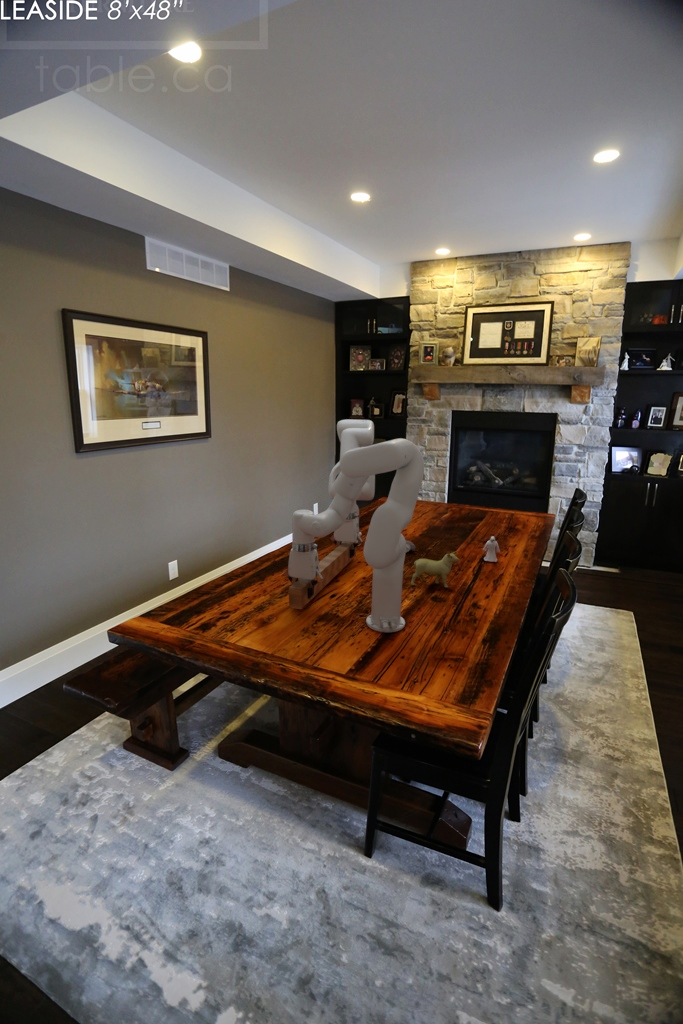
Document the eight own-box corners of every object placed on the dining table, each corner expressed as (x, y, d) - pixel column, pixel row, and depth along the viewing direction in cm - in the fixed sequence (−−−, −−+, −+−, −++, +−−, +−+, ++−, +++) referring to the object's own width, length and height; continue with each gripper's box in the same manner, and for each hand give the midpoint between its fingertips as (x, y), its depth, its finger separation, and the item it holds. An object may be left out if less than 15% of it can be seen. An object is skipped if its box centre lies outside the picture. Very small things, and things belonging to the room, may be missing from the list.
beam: (301, 609, 168) (301, 589, 166) (289, 607, 169) (288, 587, 168) (355, 556, 222) (356, 540, 220) (346, 554, 224) (346, 539, 222)
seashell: (403, 559, 235) (392, 546, 235) (408, 552, 239) (398, 539, 238) (414, 554, 229) (403, 541, 228) (419, 547, 233) (409, 534, 232)
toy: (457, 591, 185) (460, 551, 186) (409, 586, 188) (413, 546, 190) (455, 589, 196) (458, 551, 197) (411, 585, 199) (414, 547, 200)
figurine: (481, 562, 222) (483, 536, 219) (482, 556, 230) (484, 531, 227) (499, 564, 220) (501, 538, 217) (499, 558, 228) (501, 533, 225)
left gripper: (368, 515, 212) (367, 556, 217) (331, 511, 218) (330, 551, 222) (363, 519, 206) (362, 561, 210) (325, 515, 211) (324, 556, 215)
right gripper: (330, 546, 171) (329, 595, 175) (285, 540, 176) (286, 588, 181) (322, 552, 164) (321, 604, 168) (276, 546, 169) (276, 596, 174)
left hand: (345, 555), depth 216 cm, fingers closed on beam, 4 cm apart
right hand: (303, 595), depth 174 cm, fingers closed on beam, 4 cm apart
